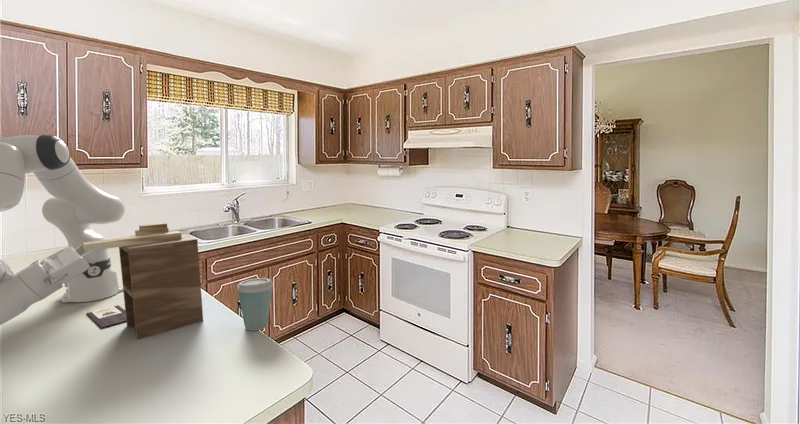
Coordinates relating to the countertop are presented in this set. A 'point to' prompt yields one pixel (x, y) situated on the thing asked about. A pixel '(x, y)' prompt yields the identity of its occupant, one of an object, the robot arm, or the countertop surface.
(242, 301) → the disposable coffee cup
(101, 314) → the chocolate bar
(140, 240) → the birch strip
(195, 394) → the countertop surface
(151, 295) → the rack
